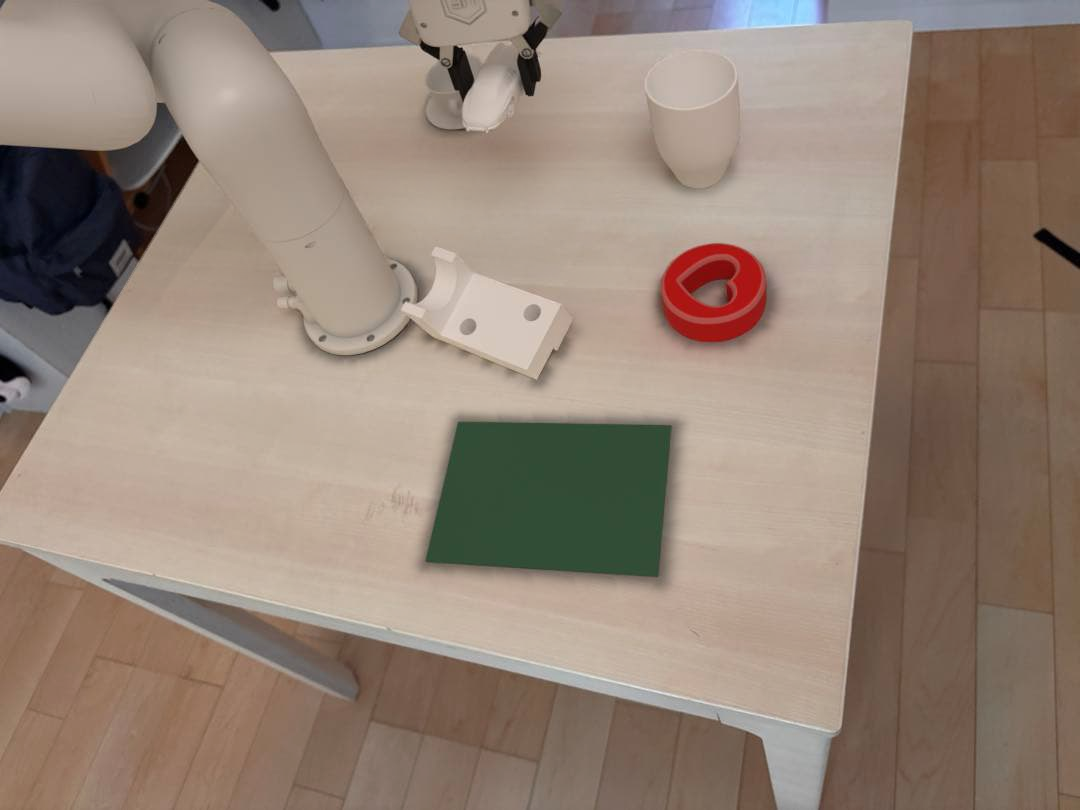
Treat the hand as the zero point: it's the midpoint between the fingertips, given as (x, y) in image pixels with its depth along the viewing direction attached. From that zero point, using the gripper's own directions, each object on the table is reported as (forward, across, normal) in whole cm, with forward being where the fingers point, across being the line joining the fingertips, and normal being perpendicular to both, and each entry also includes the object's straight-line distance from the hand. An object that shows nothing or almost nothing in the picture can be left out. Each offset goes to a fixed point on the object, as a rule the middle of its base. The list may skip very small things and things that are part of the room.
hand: (500, 88), depth 83 cm
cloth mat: (+15, +6, -35) cm, 39 cm away
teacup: (+15, -11, +18) cm, 26 cm away
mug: (+15, +18, +4) cm, 24 cm away
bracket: (+16, -2, -18) cm, 24 cm away
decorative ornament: (+15, +20, -15) cm, 29 cm away
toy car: (+1, 0, 0) cm, 1 cm away
